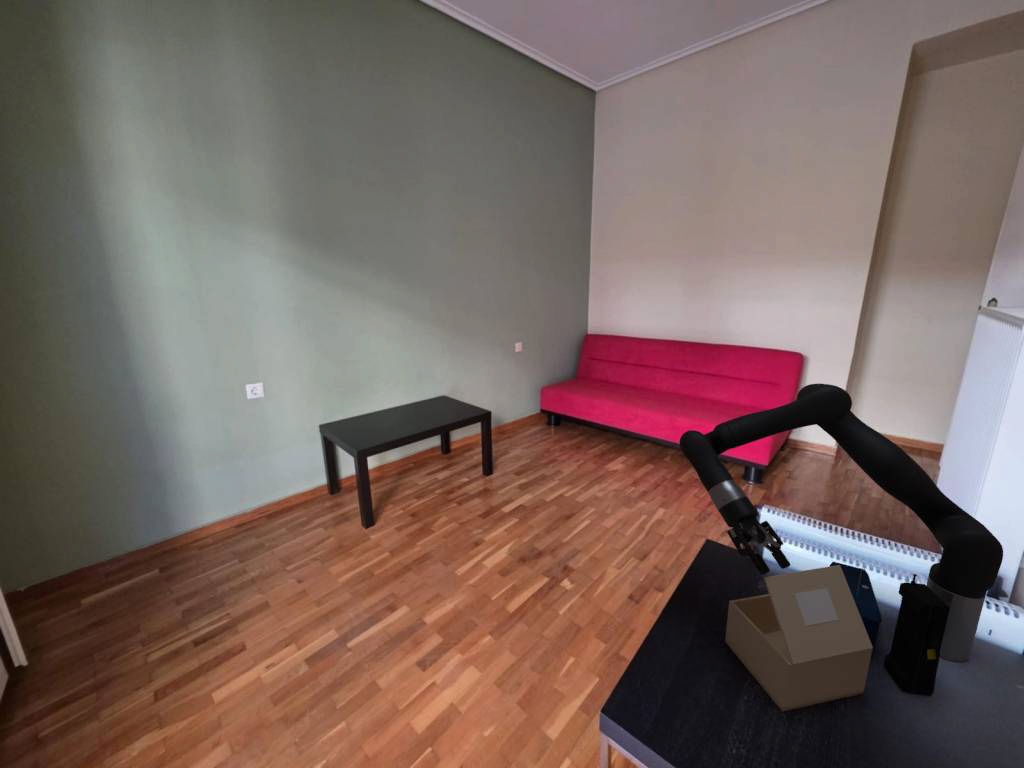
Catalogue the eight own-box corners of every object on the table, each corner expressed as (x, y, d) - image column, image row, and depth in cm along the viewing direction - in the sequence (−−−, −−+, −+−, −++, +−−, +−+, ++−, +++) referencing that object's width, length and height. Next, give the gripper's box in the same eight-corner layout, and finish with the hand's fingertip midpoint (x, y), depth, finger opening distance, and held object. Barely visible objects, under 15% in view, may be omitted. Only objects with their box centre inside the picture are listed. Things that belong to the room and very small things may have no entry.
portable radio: (939, 702, 88) (964, 601, 82) (905, 697, 89) (928, 597, 83) (912, 669, 95) (934, 574, 89) (881, 665, 96) (901, 571, 91)
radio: (878, 663, 97) (893, 589, 92) (831, 647, 102) (843, 576, 97) (862, 605, 114) (875, 540, 110) (823, 593, 119) (833, 531, 114)
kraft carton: (725, 641, 104) (729, 600, 101) (794, 628, 107) (800, 588, 105) (782, 711, 87) (789, 664, 84) (863, 693, 90) (872, 647, 87)
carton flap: (763, 577, 90) (765, 577, 90) (838, 565, 93) (840, 565, 93) (791, 663, 84) (794, 664, 83) (870, 647, 87) (873, 647, 87)
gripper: (726, 497, 95) (773, 569, 86) (760, 493, 103) (807, 558, 93) (703, 512, 100) (745, 582, 91) (737, 507, 107) (779, 571, 98)
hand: (776, 570), depth 92 cm, fingers open, 8 cm apart
